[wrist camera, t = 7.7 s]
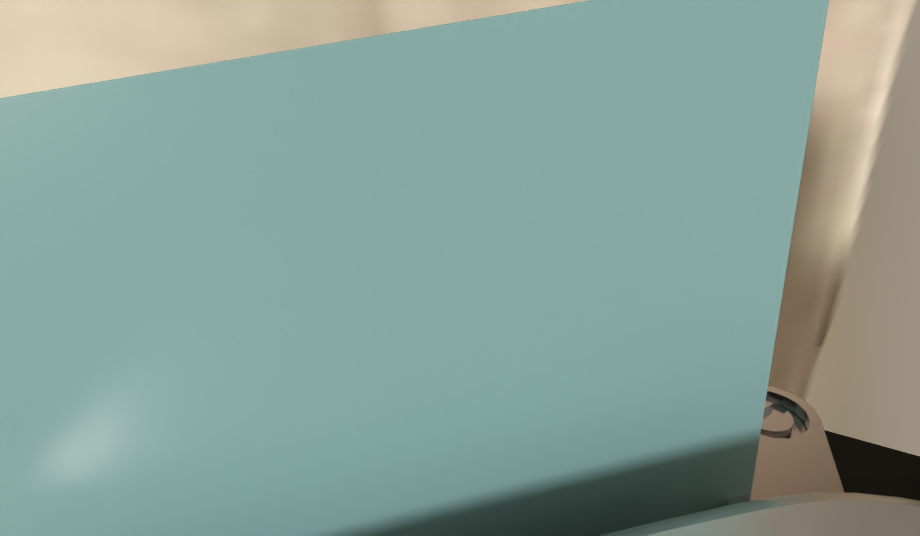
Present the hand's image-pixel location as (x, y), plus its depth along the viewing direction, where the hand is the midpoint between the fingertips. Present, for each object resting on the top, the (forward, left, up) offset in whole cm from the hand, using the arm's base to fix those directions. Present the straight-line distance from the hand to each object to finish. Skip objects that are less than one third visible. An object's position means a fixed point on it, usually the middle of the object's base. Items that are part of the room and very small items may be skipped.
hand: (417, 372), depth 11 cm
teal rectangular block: (0, 0, -2) cm, 2 cm away
